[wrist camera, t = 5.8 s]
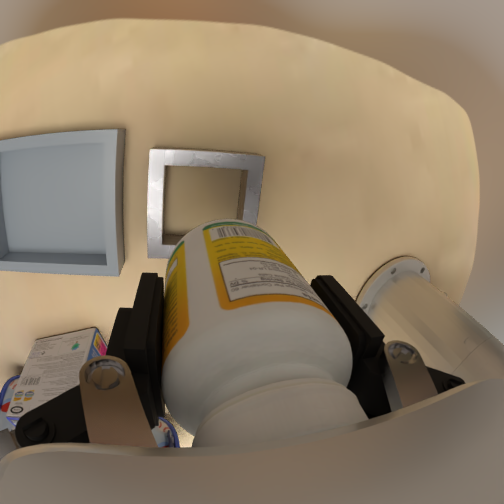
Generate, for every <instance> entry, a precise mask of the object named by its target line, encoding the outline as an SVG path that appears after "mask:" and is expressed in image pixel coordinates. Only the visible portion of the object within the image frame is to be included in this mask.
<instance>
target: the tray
mask: <svg viewBox="0 0 504 504" xmlns="http://www.w3.org/2000/svg"><path fill="white" fill-rule="evenodd" d="M125 131H126V129H108V130H87V131H72V132H60V133H50V134H41V135H33V136H26V137H19V138H12V139H6V140H1V141H0V270H1V271H16V272H32V273H50V274H70V275H93V276H119V275H120V273H121V270H122V268H123V265H124V262H125V254H124V233H123V166H124V145H125Z"/></svg>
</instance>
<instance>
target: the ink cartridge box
mask: <svg viewBox="0 0 504 504" xmlns="http://www.w3.org/2000/svg"><path fill="white" fill-rule="evenodd" d="M106 351H107V345H106V344H105V342H104V340H103V338H102V337H101V335H100V333H99V331H98V330H97V329H96V328H91V329H86V330H82V331H77V332H73V333H68V334H63V335H58V336H53V337H48V338H44V339H39V340H36V341H35V343H34V345H33V347H32V349H31V352H30V354H29V356H28V358H27V361H26V363H25V365H24V368H23V370H22V373H21V375H20V378H19V380H18V383H17V385H16V388H15V391H14V394H13V396H12V399H11V402H10V405H9V408H8V411H7V414H6V418H7V419H8V420H9V421H10V422H11V423H12V424H13V425H14V426H15V427H16V424H17V421H18V420H19V419H20V417H21V416H23V415H24V414H25V413H27V412H29V411H31V410H32V409H34V408H36V407H38V406H40V405H42V404H44V403H46V402H47V401H49V400H51V399H53V398H55V397H57V396H59V395H60V394H62V393H64V392H66V391H68V390H70V389H71V388H73V387H75V386H77V385H79V384H80V382H79V371H80V369H81V367H82V366H83V365H84V364H85V363H86V362H87V361H88V360H90V359H92V358H94V357H97V356H104V355H106Z"/></svg>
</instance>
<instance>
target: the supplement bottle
mask: <svg viewBox="0 0 504 504" xmlns="http://www.w3.org/2000/svg"><path fill="white" fill-rule="evenodd" d="M351 372H352V350H351V346H350V342H349V340H348V338H347V336H346V334H345V332H344V330H343V329H342V327H341V326H340V324H339V323H338V322H337V320H336V319H335V318H334V316H333V315H332V314H331V312H330V311H329V310H328V308H327V307H326V306H325V304H324V303H323V302H322V300H321V299H320V298H319V297H318V295H317V294H316V293H315V292H314V290H313V289H312V287H311V286H310V285H309V284H308V282H307V281H306V280H305V279H304V277H303V276H302V275H301V273H300V272H299V271H298V270H297V268H296V267H295V266H294V264H293V263H292V262H291V261H290V259H289V258H288V257H287V256H286V254H285V253H284V252H283V251H282V249H281V248H280V247H279V246H278V244H277V243H276V242H275V241H274V240H273V238H272V237H271V236H270V235H269V234H268V233H267V232H265V231H264V230H262V229H261V228H260V227H258V226H256V225H254V224H251V223H249V222H246V221H242V220H236V219H219V220H214V221H210V222H207V223H204V224H202V225H200V226H198V227H196V228H194V229H193V230H191V231H190V232H188V233H187V234H186V235H185V236H184V237H183V238H182V239H181V240H180V241H179V242H178V243H177V245H176V246H175V248H174V249H173V251H172V253H171V256H170V258H169V261H168V265H167V269H166V278H165V291H164V309H163V328H162V362H161V384H162V393H163V398H164V401H165V404H166V406H167V409H168V411H169V412H170V414H171V415H172V417H173V418H174V419H175V421H176V422H177V423H178V424H179V425H180V426H181V427H182V428H183V429H185V430H186V431H187V432H189V433H190V434H192V435H193V436H195V437H194V439H193V443H192V447H216V446H230V445H242V444H251V443H260V442H267V441H274V440H281V439H287V438H293V437H298V436H304V435H309V434H314V433H318V432H323V431H327V430H332V429H336V428H340V427H344V426H347V425H351V424H355V423H358V422H362V421H365V420H369V419H368V417H367V416H366V414H365V412H364V410H363V409H362V407H361V406H360V404H359V401H358V399H357V397H356V395H355V394H354V393H352V392H351V391H350V390H348V389H347V388H346V387H347V385H348V383H349V380H350V376H351Z"/></svg>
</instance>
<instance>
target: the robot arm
mask: <svg viewBox="0 0 504 504" xmlns="http://www.w3.org/2000/svg"><path fill="white" fill-rule="evenodd" d="M310 286H311V287H312V289H313V290H314V292H315V293H316V294H317V295H318V297H319V298H320V299H321V300H322V302H323V303H324V304H325V306H326V307H327V308H328V310H329V311H330V312H331V314H332V315H333V316H334V318H335V319H336V320H337V322H338V323H339V324H340V326H341V327H342V329H343V330H344V332H345V334H346V336H347V338H348V340H349V342H350V346H351V350H352V372H351V376H350V380H349V383H348V385H347V387H346V388H347V389H348V390H350V391H351V392H352V393H354V394H355V395H356V397H357V399H358V401H359V404H360V406H361V407H362V409H363V410H364V412H365V414H366V416H367V417H368V419H369V420H365V421H362V422H358V423H355V424H351V425H347V426H344V427H340V428H336V429H332V430H327V431H323V432H318V433H314V434H309V435H304V436H298V437H293V438H287V439H281V440H274V441H267V442H260V443H251V444H242V445H230V446H216V447H186V448H160V447H158V445H157V443H156V441H155V438H154V436H153V433H152V431H151V430H152V429H154V428H155V426H159V417H165V401H164V398H163V393H162V384H161V362H162V328H163V309H164V281H163V277H158V274H157V273H142V275H141V278H140V282H139V286H138V289H137V293H136V297H135V301H134V305H133V308H119V310H118V313H117V316H116V319H115V323H114V326H113V329H112V333H111V336H110V340H109V343H108V347H107V351H106V355H104V356H97V357H94V358H92V359H90V360H88V361H87V362H86V363H85V364H84V365H83V366H82V367H81V369H80V371H79V382H80V384H79V385H77V386H75V387H73V388H71V389H70V390H68V391H66V392H64V393H62V394H60V395H59V396H57V397H55V398H53V399H51V400H49V401H47V402H46V403H44V404H42V405H40V406H38V407H36V408H34V409H32V410H31V411H29V412H27V413H25V414H24V415H23V416H21V417H20V419H19V420H18V421H17V424H16V427H15V429H14V430H12V431H10V430H9V429H8V428H6V429H4V430H1V431H0V504H504V345H503V344H502V343H501V342H500V341H499V340H498V339H497V338H495V337H494V336H493V335H492V334H491V333H490V332H489V331H488V330H487V329H485V328H484V327H483V326H482V325H481V324H480V323H479V322H477V321H476V320H475V319H474V318H473V317H472V316H470V315H469V314H468V313H467V312H465V311H464V310H463V309H462V308H461V307H460V306H458V305H457V304H456V303H455V302H453V301H452V300H451V299H450V298H448V297H447V294H446V293H442V292H441V291H440V290H438V289H437V288H436V287H435V286H433V285H432V284H431V283H430V274H429V270H428V269H427V267H426V265H425V264H424V263H423V262H421V261H420V260H418V259H417V258H414V257H400V258H397V259H394V260H392V261H390V262H388V263H387V264H385V265H384V266H382V267H381V268H380V269H379V270H378V271H377V272H375V273H374V275H373V276H372V277H371V278H370V279H369V280H368V282H367V283H366V284H365V286H364V287H363V289H362V291H361V293H360V294H359V296H358V299H357V301H356V302H355V300H354V299H353V298H352V297H351V296H350V295H349V294H348V293H347V292H346V290H345V289H344V288H343V287H342V286H341V285H340V284H339V283H338V282H337V281H336V279H335V278H334V277H333V276H331V275H318V276H317V277H316V278H315V279H313V280H312V281H311V285H310Z"/></svg>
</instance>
